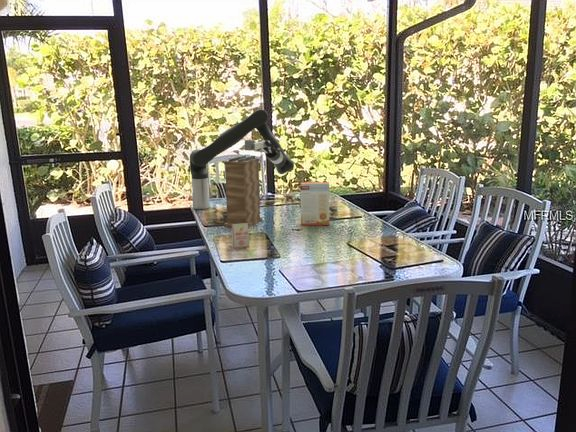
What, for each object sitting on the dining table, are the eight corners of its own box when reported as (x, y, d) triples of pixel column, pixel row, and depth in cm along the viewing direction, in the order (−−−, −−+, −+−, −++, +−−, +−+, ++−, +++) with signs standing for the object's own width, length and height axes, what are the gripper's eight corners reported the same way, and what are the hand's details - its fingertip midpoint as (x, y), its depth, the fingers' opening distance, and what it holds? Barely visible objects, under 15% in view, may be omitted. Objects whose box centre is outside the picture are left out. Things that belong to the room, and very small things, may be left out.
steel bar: (251, 150, 248) (250, 140, 246) (244, 150, 249) (244, 140, 248) (270, 146, 267) (269, 136, 266) (264, 146, 269) (264, 136, 267)
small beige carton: (231, 246, 212) (231, 223, 210) (247, 244, 214) (246, 222, 212) (233, 248, 209) (232, 225, 207) (249, 247, 211) (248, 224, 208)
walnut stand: (246, 228, 240) (244, 159, 233) (224, 226, 245) (222, 158, 237) (262, 220, 256) (261, 155, 249) (241, 218, 261) (240, 155, 253)
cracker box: (329, 222, 250) (329, 181, 245) (329, 225, 244) (329, 183, 239) (301, 222, 252) (301, 181, 247) (300, 225, 246) (300, 183, 241)
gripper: (264, 148, 281) (251, 134, 265) (287, 149, 275) (275, 135, 260) (261, 160, 279) (248, 147, 264) (284, 161, 274) (272, 148, 258)
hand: (262, 141), depth 262 cm, fingers closed on steel bar, 3 cm apart
